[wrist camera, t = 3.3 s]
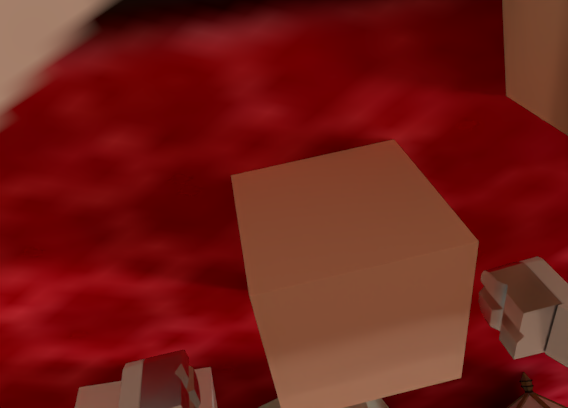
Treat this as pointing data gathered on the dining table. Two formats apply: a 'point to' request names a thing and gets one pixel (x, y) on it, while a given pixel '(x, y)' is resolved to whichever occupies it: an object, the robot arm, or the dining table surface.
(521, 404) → the game die
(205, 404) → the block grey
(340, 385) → the block terracotta
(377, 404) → the block sage
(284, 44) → the dining table surface
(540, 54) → the block oak
